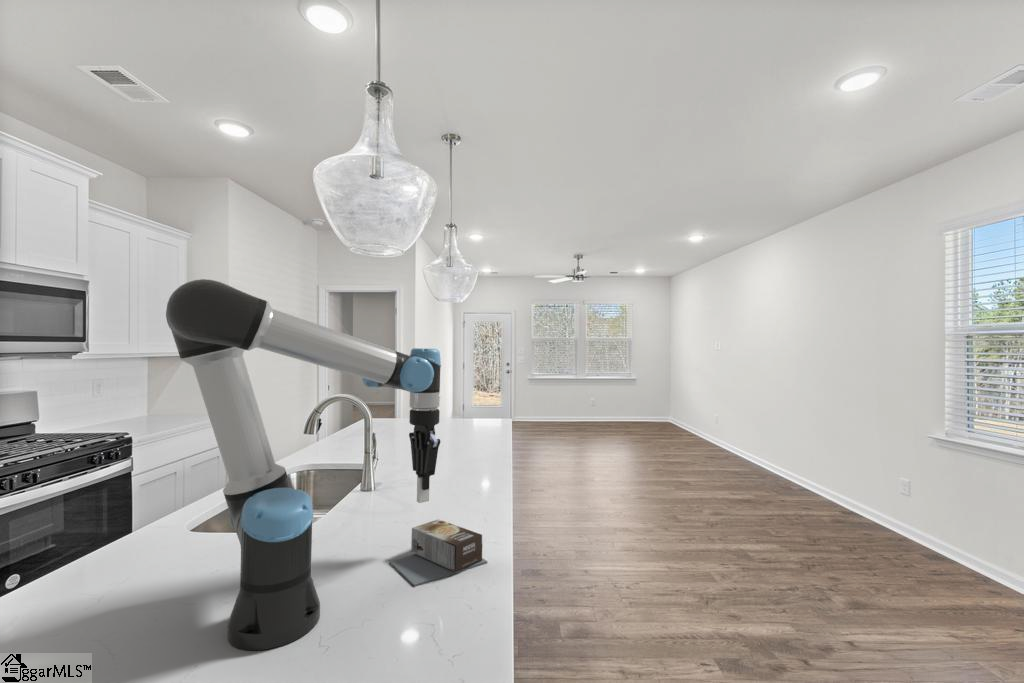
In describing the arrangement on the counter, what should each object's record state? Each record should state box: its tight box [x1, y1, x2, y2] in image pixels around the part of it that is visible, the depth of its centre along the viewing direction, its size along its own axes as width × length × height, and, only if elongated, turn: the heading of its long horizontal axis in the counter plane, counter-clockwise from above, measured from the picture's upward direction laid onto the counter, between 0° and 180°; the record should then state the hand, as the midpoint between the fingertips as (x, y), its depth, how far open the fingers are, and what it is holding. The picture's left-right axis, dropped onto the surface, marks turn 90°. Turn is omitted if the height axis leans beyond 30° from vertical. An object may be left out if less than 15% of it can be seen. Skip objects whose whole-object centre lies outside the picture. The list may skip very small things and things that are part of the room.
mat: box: [389, 553, 488, 587], centre depth 110 cm, size 19×14×1 cm
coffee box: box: [410, 519, 483, 572], centre depth 112 cm, size 9×6×16 cm
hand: (422, 501), depth 117 cm, fingers closed
